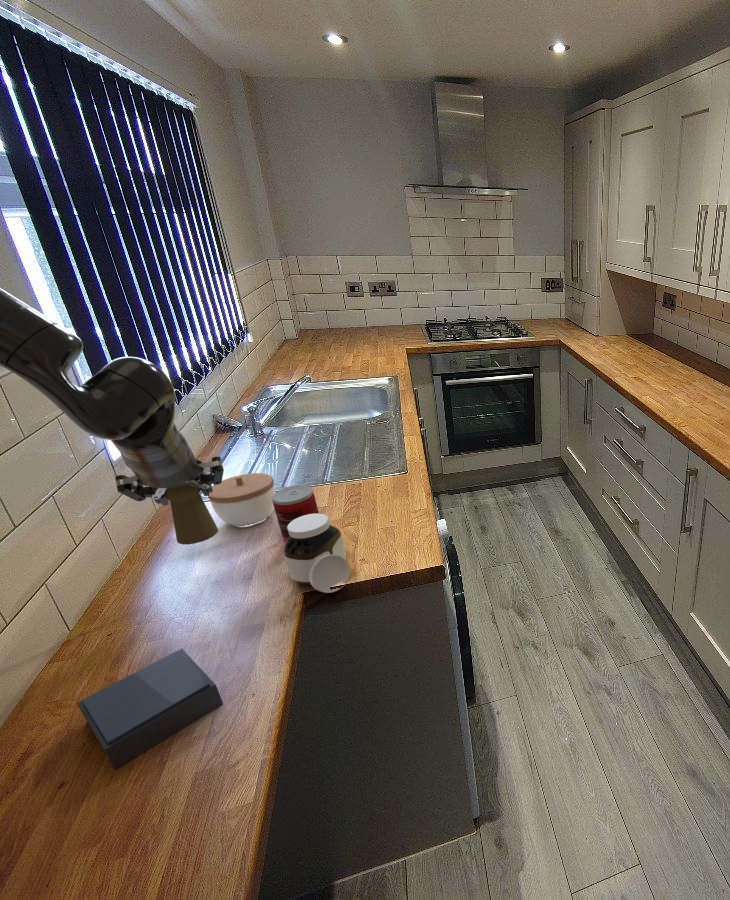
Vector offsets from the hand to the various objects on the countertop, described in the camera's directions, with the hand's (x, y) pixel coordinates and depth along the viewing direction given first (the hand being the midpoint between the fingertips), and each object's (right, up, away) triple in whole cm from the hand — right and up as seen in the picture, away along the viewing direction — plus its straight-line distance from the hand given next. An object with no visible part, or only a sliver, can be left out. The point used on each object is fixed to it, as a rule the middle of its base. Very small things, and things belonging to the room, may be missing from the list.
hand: (185, 495), depth 92 cm
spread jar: (+20, -17, +9) cm, 28 cm away
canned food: (+8, -11, +22) cm, 26 cm away
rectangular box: (+11, -29, -19) cm, 36 cm away
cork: (+1, -7, +1) cm, 8 cm away
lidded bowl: (-8, -8, +30) cm, 32 cm away
